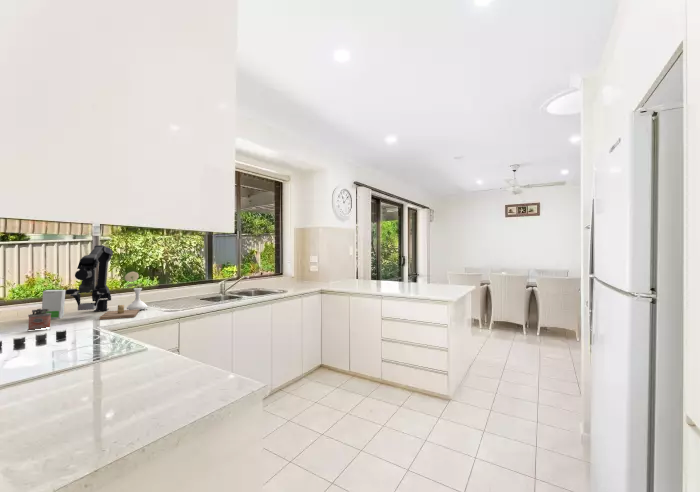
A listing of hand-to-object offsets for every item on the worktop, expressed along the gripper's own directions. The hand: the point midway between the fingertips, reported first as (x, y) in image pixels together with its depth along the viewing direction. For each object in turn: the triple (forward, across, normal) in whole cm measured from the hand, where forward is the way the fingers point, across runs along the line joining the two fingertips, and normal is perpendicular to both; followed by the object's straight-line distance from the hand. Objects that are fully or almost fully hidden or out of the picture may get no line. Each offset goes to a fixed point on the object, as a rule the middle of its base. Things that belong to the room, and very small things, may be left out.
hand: (87, 306), depth 180 cm
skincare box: (+6, -16, +4) cm, 18 cm away
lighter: (+6, -11, -30) cm, 32 cm away
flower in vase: (+6, +21, +17) cm, 28 cm away
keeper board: (+6, +16, -2) cm, 17 cm away
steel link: (+2, 0, 0) cm, 2 cm away
